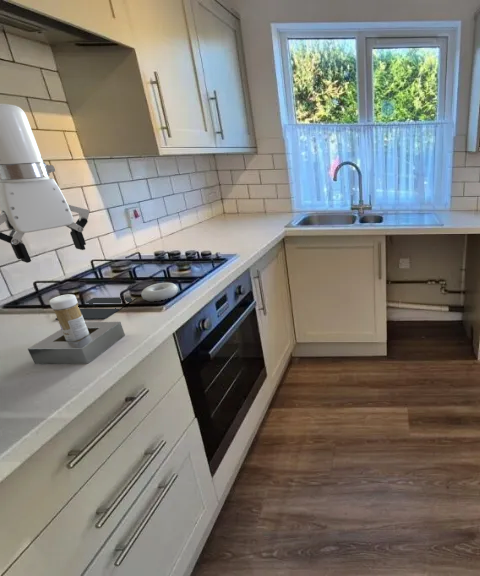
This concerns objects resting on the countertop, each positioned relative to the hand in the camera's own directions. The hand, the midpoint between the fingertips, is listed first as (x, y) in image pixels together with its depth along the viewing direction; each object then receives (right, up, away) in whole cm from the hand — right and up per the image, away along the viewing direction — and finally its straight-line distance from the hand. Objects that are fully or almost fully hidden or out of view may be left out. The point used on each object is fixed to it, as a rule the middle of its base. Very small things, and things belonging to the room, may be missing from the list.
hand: (55, 255), depth 79 cm
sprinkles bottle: (0, -22, +7) cm, 23 cm away
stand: (0, -22, +7) cm, 23 cm away
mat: (-12, -13, +28) cm, 33 cm away
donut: (+2, -10, +35) cm, 36 cm away
